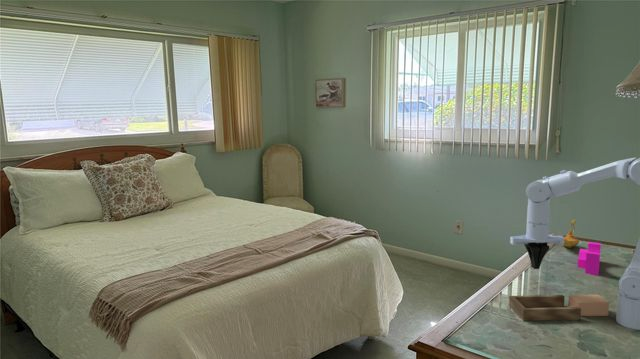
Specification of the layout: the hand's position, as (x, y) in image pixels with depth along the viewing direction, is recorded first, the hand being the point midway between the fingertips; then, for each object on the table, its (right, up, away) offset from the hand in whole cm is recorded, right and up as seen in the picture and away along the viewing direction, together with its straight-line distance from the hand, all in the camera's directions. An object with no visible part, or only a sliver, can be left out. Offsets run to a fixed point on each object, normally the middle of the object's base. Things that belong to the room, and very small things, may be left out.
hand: (535, 267), depth 129 cm
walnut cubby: (-1, -11, -7) cm, 13 cm away
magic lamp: (+34, -3, +45) cm, 56 cm away
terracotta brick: (+11, -11, -7) cm, 17 cm away
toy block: (+31, -6, +26) cm, 41 cm away
